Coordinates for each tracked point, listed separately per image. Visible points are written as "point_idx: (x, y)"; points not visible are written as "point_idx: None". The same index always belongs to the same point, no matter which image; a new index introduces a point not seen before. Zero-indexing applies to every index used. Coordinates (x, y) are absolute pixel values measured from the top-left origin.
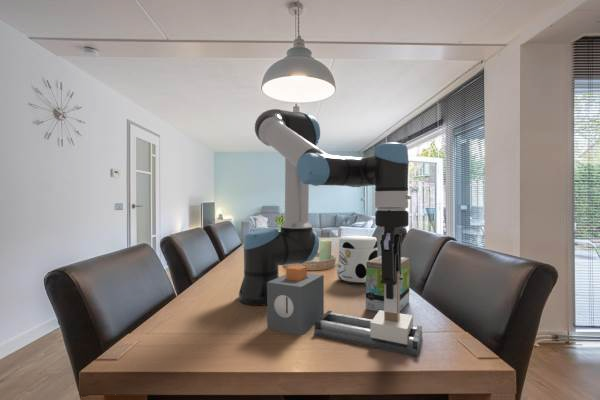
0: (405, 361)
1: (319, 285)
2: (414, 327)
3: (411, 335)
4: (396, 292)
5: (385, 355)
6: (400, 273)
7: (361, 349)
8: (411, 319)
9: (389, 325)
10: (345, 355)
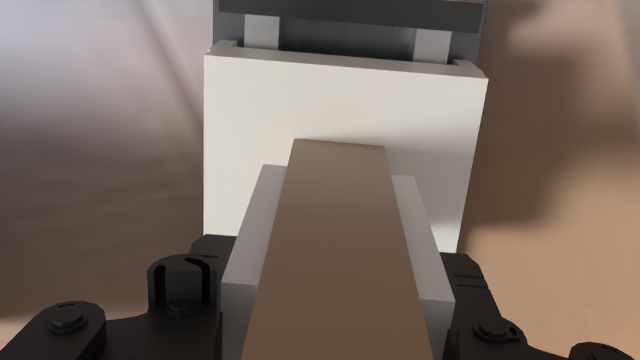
0: (543, 54)
1: None
2: (255, 30)
3: (299, 42)
4: (426, 253)
5: (506, 152)
6: (89, 315)
7: (477, 259)
8: (272, 59)
9: (462, 188)
10: (555, 309)
